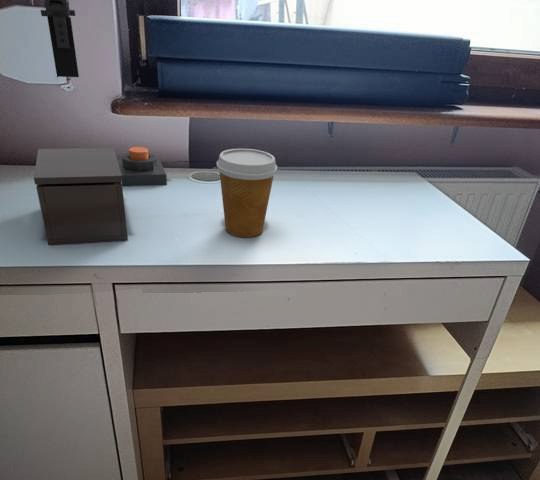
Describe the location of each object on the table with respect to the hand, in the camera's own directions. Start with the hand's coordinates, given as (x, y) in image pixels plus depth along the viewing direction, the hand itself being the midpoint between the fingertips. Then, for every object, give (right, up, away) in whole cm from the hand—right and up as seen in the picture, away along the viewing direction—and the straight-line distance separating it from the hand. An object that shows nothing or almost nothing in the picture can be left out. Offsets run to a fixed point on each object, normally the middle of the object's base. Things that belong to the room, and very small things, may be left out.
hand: (67, 75), depth 67 cm
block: (+1, -1, +35) cm, 35 cm away
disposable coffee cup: (+22, -16, +19) cm, 33 cm away
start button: (+1, +2, +33) cm, 33 cm away
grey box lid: (-2, -8, +10) cm, 13 cm away
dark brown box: (-3, -15, +16) cm, 22 cm away
